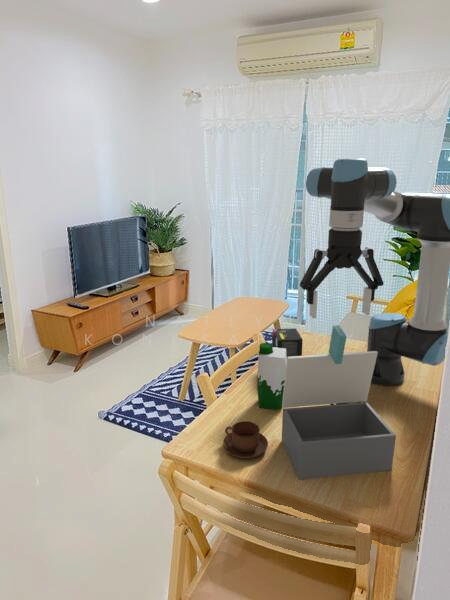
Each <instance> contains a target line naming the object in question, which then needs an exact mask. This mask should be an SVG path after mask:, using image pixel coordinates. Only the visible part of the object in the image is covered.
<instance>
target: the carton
mask: <svg viewBox="0 0 450 600" xmlns="http://www.w3.org/2000/svg"><path fill="white" fill-rule="evenodd" d="M281 422H282V423H281V424H282V425H281V443H282V445H283V447H284V449H285V452H286V454H287V456H288V458H289V461H290V462H291V465H292V467H293V470H294V471H295V474H296V476H297V479H298V480H299V481H300V480H307V479H317V478H318V479H319V478H326V477H336V476H347V475H357V474H365V473H366V474H367V473H376V472H385V471H387V472H388V471H392V470H393V463H394V455H395V446H396V438H397V435H396V434H395V432H394V431H393V430H392V429H391V428H390V426H388V424H386V422H385V421H384V420H383V419H382V417H381V416H380V415H379V414H378V413H377V412H376V410H374V408H373V407H372V406H371V405H370V404H369V403H368V402H367V401H361V403H349V404H334V405H330V404H324V405H311V406H299V407H286V408H282V421H281Z"/></svg>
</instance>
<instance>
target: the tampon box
mask: <svg viewBox="0 0 450 600" xmlns="http://www.w3.org/2000/svg"><path fill="white" fill-rule="evenodd" d="M271 335H272V336H271V337H272V338H271V344H272V346H273V347H278V348H286V355H287V357H291V356H303V337H302V336H301V333H299V331H298V329H297V328H272V334H271Z"/></svg>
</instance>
